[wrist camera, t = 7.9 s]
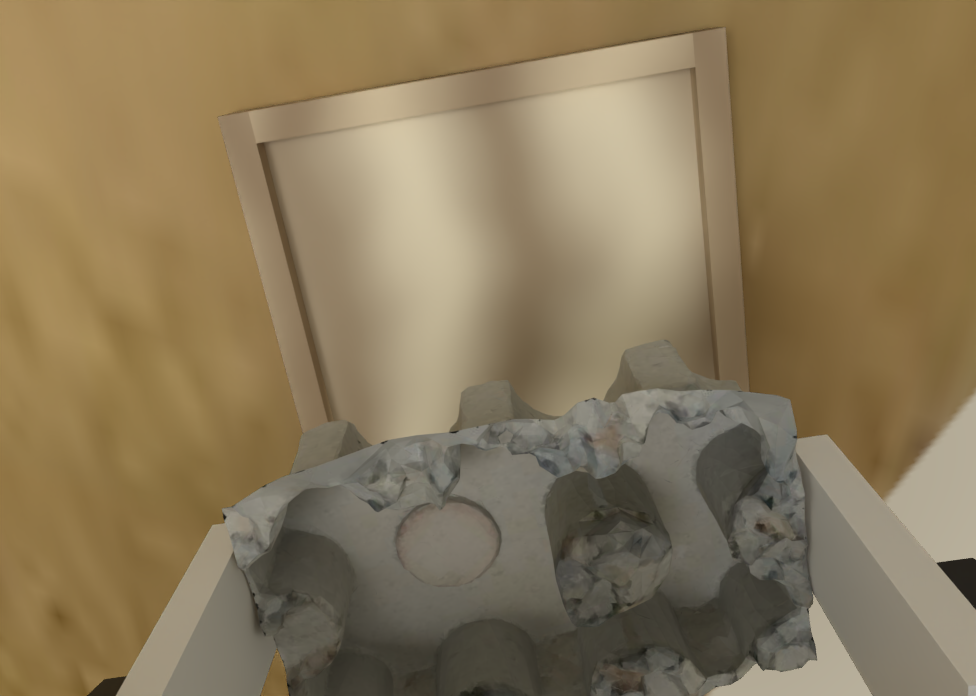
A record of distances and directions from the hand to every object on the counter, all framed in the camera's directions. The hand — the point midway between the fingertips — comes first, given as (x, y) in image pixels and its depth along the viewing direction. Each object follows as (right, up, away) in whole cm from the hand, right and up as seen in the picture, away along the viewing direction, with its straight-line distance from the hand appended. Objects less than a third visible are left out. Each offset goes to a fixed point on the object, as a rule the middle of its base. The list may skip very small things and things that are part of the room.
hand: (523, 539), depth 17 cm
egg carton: (0, 0, +2) cm, 2 cm away
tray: (0, +5, +14) cm, 15 cm away
